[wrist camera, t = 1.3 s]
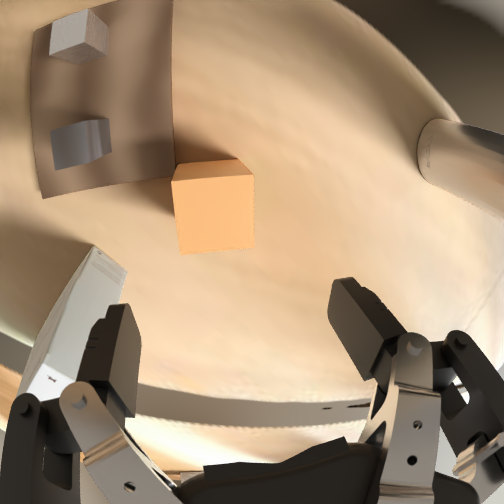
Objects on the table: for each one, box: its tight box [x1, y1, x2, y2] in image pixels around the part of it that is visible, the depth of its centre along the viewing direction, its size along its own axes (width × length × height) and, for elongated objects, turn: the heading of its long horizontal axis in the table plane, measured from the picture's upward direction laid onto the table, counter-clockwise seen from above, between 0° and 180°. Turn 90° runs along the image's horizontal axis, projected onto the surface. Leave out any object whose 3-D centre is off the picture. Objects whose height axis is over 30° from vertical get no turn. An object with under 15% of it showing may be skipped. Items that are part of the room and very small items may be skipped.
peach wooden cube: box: [171, 159, 254, 255], centre depth 22 cm, size 6×6×7 cm
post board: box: [30, 0, 176, 199], centre depth 15 cm, size 14×18×7 cm
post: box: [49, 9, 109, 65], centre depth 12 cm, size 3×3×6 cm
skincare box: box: [16, 246, 128, 401], centre depth 21 cm, size 21×5×16 cm, turn 131°
